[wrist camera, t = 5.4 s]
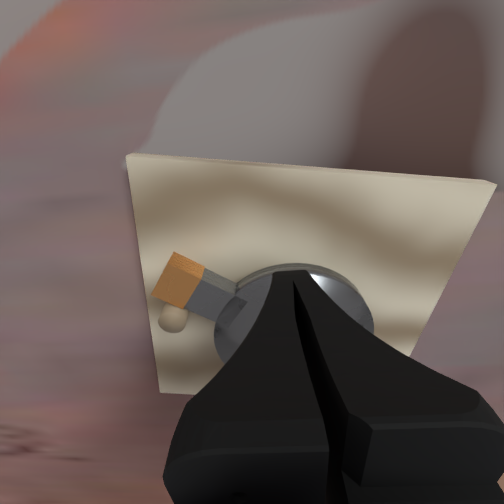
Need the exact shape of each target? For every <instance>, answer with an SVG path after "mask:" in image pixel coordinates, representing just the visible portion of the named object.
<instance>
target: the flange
mask: <svg viewBox="0 0 504 504" xmlns="http://www.w3.org/2000/svg"><path fill="white" fill-rule="evenodd" d="M292 270H307V271H308V272H309V274H310V275H311V276H312V278H313V279H314V280H315V281H316V282H317V284H318V285H319V286H320V287H321V288H322V289H323V290H324V291H325V293H326V294H327V295H328V296H329V297H330V298H331V299H332V300H333V301H334V302H335V303H336V304H337V305H338V306H339V307H340V308H341V309H343V310H344V311H345V312H346V313H347V314H348V315H349V316H350V317H351V318H353V319H354V320H355V321H356V322H357V323H359V324H360V325H361V326H363V327H364V328H365V329H367V330H368V331H369V332H371V333H372V334H373V335H374V322H373V317H372V314H371V311H370V310H369V308H368V306H367V304H366V302H365V300H364V298H363V297H362V295H361V293H360V291H359V290H358V289H357V288H356V286H355V285H354V284H353V283H352V282H350V281H349V280H348V279H347V278H346V277H344V276H342V275H341V274H339V273H337V272H335V271H333V270H331V269H328V268H325V267H322V266H318V265H313V264H307V263H285V264H278V265H273V266H269V267H266V268H263V269H260V270H258V271H255V272H253V273H251V274H249V275H248V276H246V277H244V278H243V279H241V280H240V281H239V282H237V283H235V282H233V281H231V280H229V279H227V278H225V277H223V276H221V275H219V274H217V273H215V272H212V271H210V270H208V269H206V268H205V266H203V265H201V264H199V263H197V262H195V261H193V260H191V259H189V258H187V257H185V256H183V255H181V254H178V253H176V252H173V254H172V255H171V257H170V259H169V261H168V263H167V265H166V267H165V268H164V270H163V272H162V274H161V276H160V278H159V280H158V282H157V284H156V286H155V288H154V289H153V291H152V293H151V295H152V296H154V297H156V298H159V299H161V300H163V301H165V302H168V303H170V304H172V305H174V306H177V307H179V308H181V309H183V308H184V309H187V310H189V311H191V312H193V313H196V314H198V315H200V316H203V317H205V318H207V319H209V320H212V321H214V322H215V328H214V343H215V348H216V350H217V353H218V355H219V357H220V359H221V360H222V362H223V363H224V364H226V362H227V361H228V360H229V359H230V358H231V357H232V355H233V354H234V353H235V351H236V350H237V349H238V347H239V346H240V345H241V343H242V342H243V340H244V339H245V337H246V336H247V334H248V333H249V331H250V330H251V328H252V326H253V324H254V323H255V321H256V319H257V317H258V315H259V313H260V311H261V309H262V307H263V305H264V302H265V300H266V297H267V295H268V292H269V289H270V286H271V281H272V274H273V273H274V272H276V271H292Z"/></svg>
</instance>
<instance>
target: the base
mask: <svg viewBox="0 0 504 504" xmlns="http://www.w3.org/2000/svg"><path fill="white" fill-rule="evenodd" d="M126 162H127V169H128V176H129V182H130V189H131V196H132V203H133V210H134V217H135V224H136V231H137V237H138V244H139V251H140V258H141V265H142V272H143V279H144V286H145V292H146V299H147V306H148V313H149V320H150V327H151V334H152V341H153V347H154V354H155V361H156V368H157V375H158V382H159V389H160V393H174V394H191V395H196V394H197V393H198V392H199V391H200V390H201V389H202V388H203V387H204V386H205V385H206V384H207V383H208V382H209V381H210V380H211V379H212V378H213V377H214V376H215V375H216V374H217V373H218V372H219V371H220V369H221V368H222V367H223V366H224V365H225V364H224V363H223V362H222V360H221V359H220V357H219V355H218V353H217V350H216V348H215V343H214V328H215V322H214V321H212V320H209V319H207V318H205V317H203V316H200V315H198V314H196V313H193V312H191V311H189V310H187V309H184V308H183V309H181V308H179V307H177V306H174V305H172V304H170V303H168V302H165V301H163V300H161V299H159V298H156V297H154V296H152V295H151V293H152V291H153V289H154V288H155V286H156V284H157V282H158V280H159V278H160V276H161V274H162V272H163V270H164V268H165V267H166V265H167V263H168V261H169V259H170V257H171V255H172V254H173V252H176V253H178V254H181V255H183V256H185V257H187V258H189V259H191V260H193V261H195V262H197V263H199V264H201V265H203V266H205V268H206V269H208V270H210V271H212V272H215V273H217V274H219V275H221V276H223V277H225V278H227V279H229V280H231V281H233V282H235V283H237V282H239V281H240V280H241V279H243V278H244V277H246V276H248V275H249V274H251V273H253V272H255V271H258V270H260V269H263V268H266V267H269V266H273V265H278V264H285V263H307V264H313V265H318V266H322V267H325V268H328V269H331V270H333V271H335V272H337V273H339V274H341V275H342V276H344V277H346V278H347V279H348V280H349V281H350V282H352V283H353V284H354V285H355V286H356V288H357V289H358V290H359V291H360V293H361V295H362V297H363V298H364V300H365V302H366V304H367V306H368V308H369V310H370V311H371V314H372V317H373V322H374V335H375V336H376V337H378V338H379V339H381V340H382V341H384V342H385V343H387V344H389V345H390V346H392V347H393V348H395V349H396V350H398V351H400V352H401V353H403V354H405V355H406V356H408V357H409V356H410V354H411V352H412V350H413V348H414V346H415V344H416V342H417V340H418V338H419V337H420V335H421V333H422V331H423V329H424V327H425V325H426V323H427V321H428V319H429V317H430V315H431V313H432V311H433V309H434V307H435V305H436V303H437V301H438V299H439V298H440V296H441V294H442V292H443V290H444V288H445V286H446V284H447V282H448V280H449V278H450V276H451V274H452V272H453V270H454V268H455V266H456V264H457V262H458V260H459V259H460V257H461V255H462V253H463V251H464V249H465V247H466V245H467V243H468V241H469V239H470V237H471V235H472V233H473V231H474V229H475V227H476V225H477V223H478V221H479V219H480V218H481V216H482V214H483V212H484V210H485V208H486V206H487V204H488V202H489V200H490V198H491V196H492V194H493V192H494V190H495V188H496V186H497V184H493V183H491V182H488V181H485V180H476V179H463V178H451V177H438V176H426V175H412V174H398V173H386V172H374V171H361V170H348V169H336V168H322V167H310V166H309V167H308V166H297V165H284V164H271V163H258V162H245V161H233V160H220V159H207V158H206V159H205V158H194V157H181V156H167V155H156V154H143V153H131V154H129V155H127V156H126Z"/></svg>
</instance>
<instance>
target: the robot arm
mask: <svg viewBox="0 0 504 504" xmlns="http://www.w3.org/2000/svg"><path fill="white" fill-rule="evenodd" d="M503 473H504V424H503V422H502V421H501V419H500V418H499V417H498V415H497V414H496V413H495V411H494V410H493V409H492V408H491V407H490V405H489V404H488V403H487V402H486V401H485V400H484V398H483V397H482V396H481V395H480V394H479V393H478V392H477V391H476V390H474V389H472V388H470V387H468V386H465V385H463V384H461V383H459V382H457V381H455V380H453V379H451V378H449V377H446V376H444V375H442V374H440V373H438V372H436V371H434V370H432V369H430V368H428V367H426V366H425V365H423V364H421V363H419V362H417V361H415V360H414V359H412V358H410V357H408V356H406V355H405V354H403V353H401V352H400V351H398V350H396V349H395V348H393V347H392V346H390V345H389V344H387V343H385V342H384V341H382V340H381V339H379V338H378V337H376V336H375V335H373V334H372V333H371V332H369V331H368V330H367V329H365V328H364V327H363V326H361V325H360V324H359V323H357V322H356V321H355V320H354V319H353V318H351V317H350V316H349V315H348V314H347V313H346V312H345V311H344V310H343V309H341V308H340V307H339V306H338V305H337V304H336V303H335V302H334V301H333V300H332V299H331V298H330V297H329V296H328V295H327V294H326V293H325V291H324V290H323V289H322V288H321V287H320V286H319V285H318V284H317V282H316V281H315V280H314V279H313V278H312V276H311V275H310V274H309V272H308V271H307V270H292V271H276V272H274V273H273V274H272V281H271V286H270V289H269V292H268V295H267V297H266V300H265V302H264V305H263V307H262V309H261V311H260V313H259V315H258V317H257V319H256V321H255V323H254V324H253V326H252V328H251V330H250V331H249V333H248V334H247V336H246V337H245V339H244V340H243V342H242V343H241V345H240V346H239V347H238V349H237V350H236V351H235V353H234V354H233V355H232V357H231V358H230V359H229V360H228V361H227V362H226V364H225V365H224V366H223V367H222V368H221V369H220V371H219V372H218V373H217V374H216V375H215V376H214V377H213V378H212V379H211V380H210V381H209V382H208V383H207V384H206V385H205V386H204V387H203V388H202V389H201V390H200V391H199V392H198V393H197V394H196V395H195V396H194V397H193V398H192V399H191V400H190V401H189V402H187V404H186V406H185V408H184V410H183V413H182V415H181V417H180V419H179V422H178V425H177V427H176V430H175V433H174V435H173V438H172V441H171V445H170V449H169V453H168V457H167V461H166V465H165V469H164V473H163V480H164V485H165V487H166V489H167V491H168V493H169V495H170V496H171V498H172V500H173V502H174V504H504V493H503V491H502V489H501V488H500V486H499V484H498V483H497V481H498V480H499V478H500V477H501V476H502V474H503Z"/></svg>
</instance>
